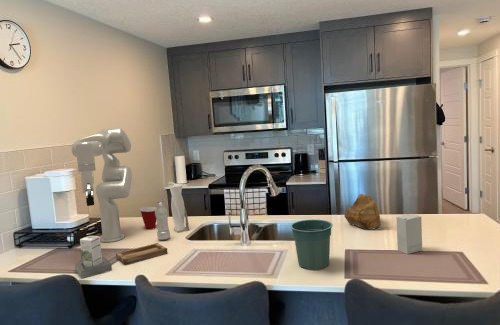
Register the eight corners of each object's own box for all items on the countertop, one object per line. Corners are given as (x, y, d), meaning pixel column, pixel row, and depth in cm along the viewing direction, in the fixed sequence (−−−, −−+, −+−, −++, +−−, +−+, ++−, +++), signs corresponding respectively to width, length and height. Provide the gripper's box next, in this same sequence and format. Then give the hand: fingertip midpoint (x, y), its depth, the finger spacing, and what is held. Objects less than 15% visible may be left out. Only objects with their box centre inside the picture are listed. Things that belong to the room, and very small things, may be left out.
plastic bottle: (167, 241, 197) (164, 203, 195) (155, 241, 198) (151, 203, 196) (172, 237, 203) (169, 200, 201) (160, 237, 205) (157, 201, 203)
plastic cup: (157, 229, 221) (155, 209, 220) (139, 231, 221) (137, 210, 220) (162, 225, 232) (160, 205, 231) (144, 226, 232) (142, 206, 231)
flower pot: (325, 275, 140) (323, 232, 139) (285, 268, 149) (283, 228, 147) (340, 260, 154) (338, 221, 153) (303, 255, 163) (300, 218, 161)
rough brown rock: (342, 221, 214) (339, 195, 212) (372, 217, 212) (369, 191, 210) (350, 235, 191) (346, 206, 189) (384, 230, 189) (380, 201, 187)
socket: (75, 270, 164) (74, 263, 164) (104, 263, 171) (103, 256, 171) (81, 278, 154) (80, 271, 154) (112, 270, 161) (111, 263, 161)
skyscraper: (175, 233, 212) (170, 183, 209) (171, 230, 219) (166, 181, 216) (189, 230, 215) (185, 181, 213) (185, 227, 223) (180, 180, 220)
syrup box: (103, 268, 164) (100, 235, 163) (94, 273, 159) (90, 239, 157) (93, 267, 166) (89, 235, 165) (83, 272, 161) (79, 239, 159)
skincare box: (412, 247, 163) (411, 213, 161) (423, 251, 157) (422, 215, 156) (396, 250, 160) (395, 215, 159) (407, 254, 155) (406, 219, 153)
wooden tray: (116, 258, 176) (115, 253, 176) (157, 247, 187) (157, 242, 187) (124, 265, 166) (124, 259, 166) (167, 253, 178) (167, 248, 177)
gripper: (78, 168, 186) (82, 202, 187) (77, 170, 170) (81, 207, 171) (95, 166, 189) (98, 200, 190) (95, 168, 173) (99, 205, 174)
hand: (90, 204), depth 180 cm, fingers open, 9 cm apart
